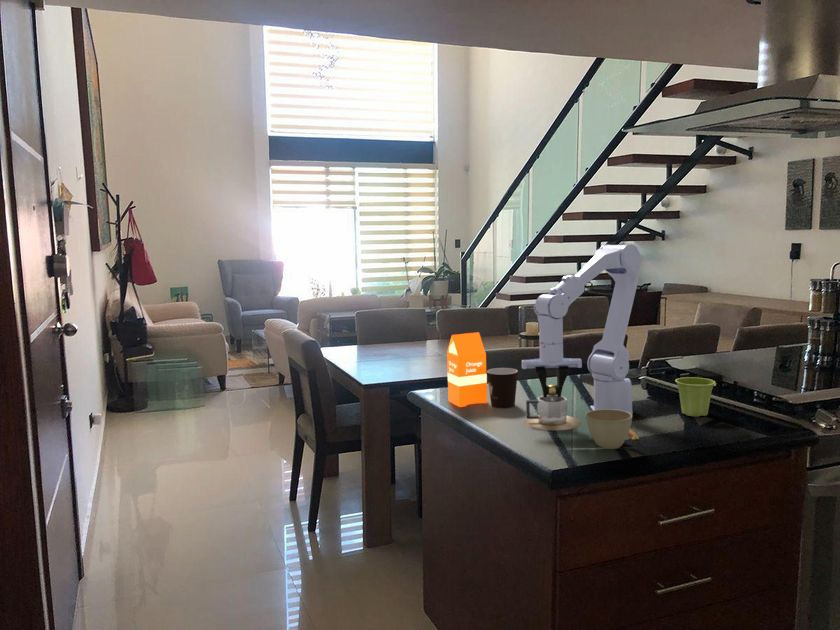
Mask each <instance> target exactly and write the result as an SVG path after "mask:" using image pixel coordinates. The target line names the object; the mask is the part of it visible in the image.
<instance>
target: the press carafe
mask: <svg viewBox="0 0 840 630" xmlns="http://www.w3.org/2000/svg"><path fill="white" fill-rule="evenodd" d="M525 404H526V407H525V408H526V419H538V422H539V423H540V424H542V425H547V426H560V425H564V424H566V423H567V416H568V399H567V397H566V396H563V395H561V397H558V396H557V395H555V396H553V402H551V396H550V395H547V397H544V396H543V395H541V396H538V397H536V399H527V400H526V403H525ZM530 404H536V405H537V406H536V407H537V408H536V409H537V415H538V416H536V415H531V413H530V412H531V411H530V410H531V409H530Z"/></svg>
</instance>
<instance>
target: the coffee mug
mask: <svg viewBox="0 0 840 630" xmlns="http://www.w3.org/2000/svg"><path fill="white" fill-rule="evenodd" d="M486 374H487V385H488V392H489V398H490V405H491V407H492V408H496V409H510V408H513V407H515V405H516V394H517V383H518V374H519V371H518V369H517V368H510V367H496V368H490V369H486Z"/></svg>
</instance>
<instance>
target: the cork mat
mask: <svg viewBox="0 0 840 630" xmlns="http://www.w3.org/2000/svg"><path fill="white" fill-rule="evenodd" d="M535 416H538V414H537V415H535ZM523 422H524V424H525V425H526V426H527V427H530V428H532V429H537V430H542V431H565V430H573V429H575V428H578V427H580V426H581V424H582V421H581V420H580V419H578V418H576V417H574V416H571V415H567V423H566V424H564V425H560V426H547V425H542V424H540V423H539V422H538V419H527V418H525V419H524V420H523Z"/></svg>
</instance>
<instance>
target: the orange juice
mask: <svg viewBox="0 0 840 630" xmlns="http://www.w3.org/2000/svg"><path fill="white" fill-rule="evenodd" d="M446 359H447V360H446V361H447V362H446V363H447V364H446V365H447V366H446V367H447V390H448V391H447V392H448V393H447V395H448V396H447V397H448V402H449V403H451V404H452V405H454V406H457V407H458V408H463V407H467V406H468V405H474V404H488V391H487V389H488V387H487V385H488V378H487V353H486V351H485V347H484V344H483V341H482V337H481V334H480V332H479V331H478V332H467V333H460V334H451V337H450V341H449V344H448V348H447V351H446Z"/></svg>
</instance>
